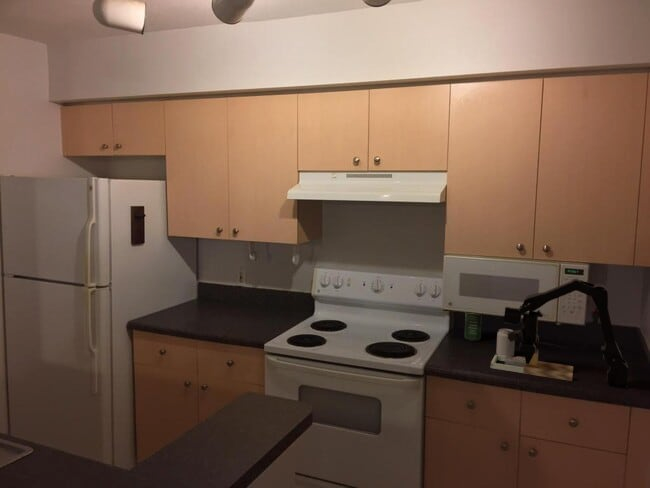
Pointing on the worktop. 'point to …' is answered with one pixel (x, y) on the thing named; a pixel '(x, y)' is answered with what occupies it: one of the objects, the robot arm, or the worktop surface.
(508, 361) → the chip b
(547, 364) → the slot board
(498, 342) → the can
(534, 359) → the yellow wooden block
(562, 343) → the worktop surface
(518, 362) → the chip
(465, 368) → the worktop surface
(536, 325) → the robot arm
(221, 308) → the worktop surface
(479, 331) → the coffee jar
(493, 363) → the tray
